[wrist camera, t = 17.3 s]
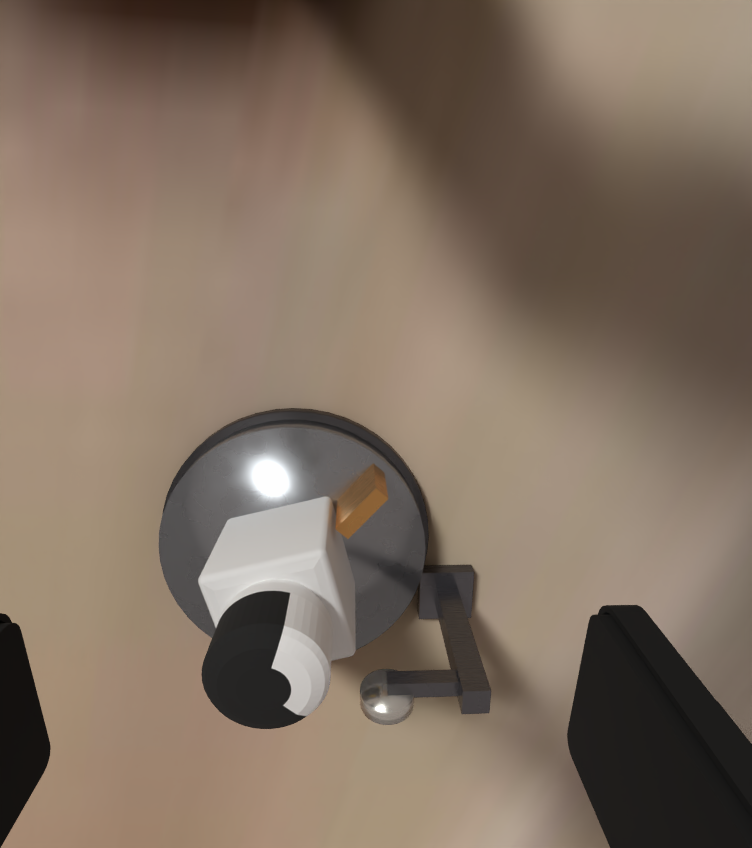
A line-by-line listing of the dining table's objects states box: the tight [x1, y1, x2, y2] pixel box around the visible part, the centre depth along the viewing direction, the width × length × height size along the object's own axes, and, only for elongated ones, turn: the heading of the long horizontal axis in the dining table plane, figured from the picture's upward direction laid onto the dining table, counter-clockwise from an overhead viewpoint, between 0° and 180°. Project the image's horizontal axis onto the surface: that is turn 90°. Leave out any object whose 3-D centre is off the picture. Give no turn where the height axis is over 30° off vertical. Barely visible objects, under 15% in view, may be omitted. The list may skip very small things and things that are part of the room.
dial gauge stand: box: [360, 565, 491, 725], centre depth 35 cm, size 4×9×11 cm, turn 90°
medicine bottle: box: [198, 496, 356, 729], centre depth 30 cm, size 7×7×12 cm
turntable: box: [159, 420, 425, 649], centre depth 34 cm, size 18×18×6 cm
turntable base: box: [163, 408, 429, 558], centre depth 38 cm, size 19×19×1 cm
